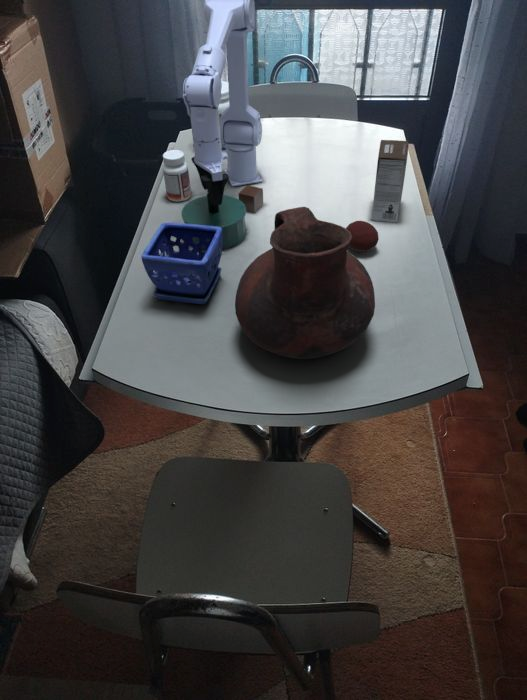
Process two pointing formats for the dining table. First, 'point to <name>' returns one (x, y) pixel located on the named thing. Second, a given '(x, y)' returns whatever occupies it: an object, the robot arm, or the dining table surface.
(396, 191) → the coffee box
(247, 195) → the block
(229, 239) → the tin
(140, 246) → the dining table surface
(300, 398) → the dining table surface
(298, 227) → the jug
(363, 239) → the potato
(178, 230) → the flower pot
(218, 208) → the tin lid
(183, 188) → the pill bottle
